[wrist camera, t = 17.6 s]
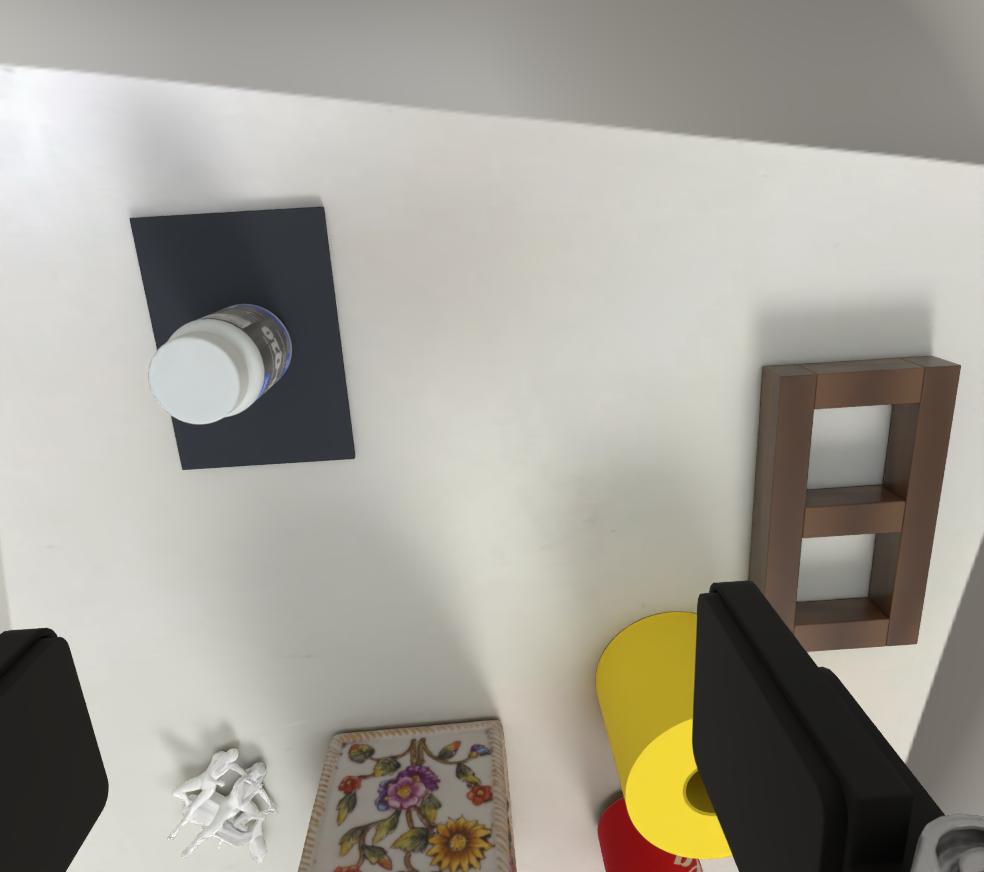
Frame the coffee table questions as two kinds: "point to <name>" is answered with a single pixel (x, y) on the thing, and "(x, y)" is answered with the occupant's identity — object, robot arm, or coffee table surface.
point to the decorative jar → (413, 802)
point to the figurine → (225, 805)
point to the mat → (273, 286)
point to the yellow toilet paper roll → (658, 734)
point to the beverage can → (635, 846)
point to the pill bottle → (220, 363)
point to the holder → (852, 495)
